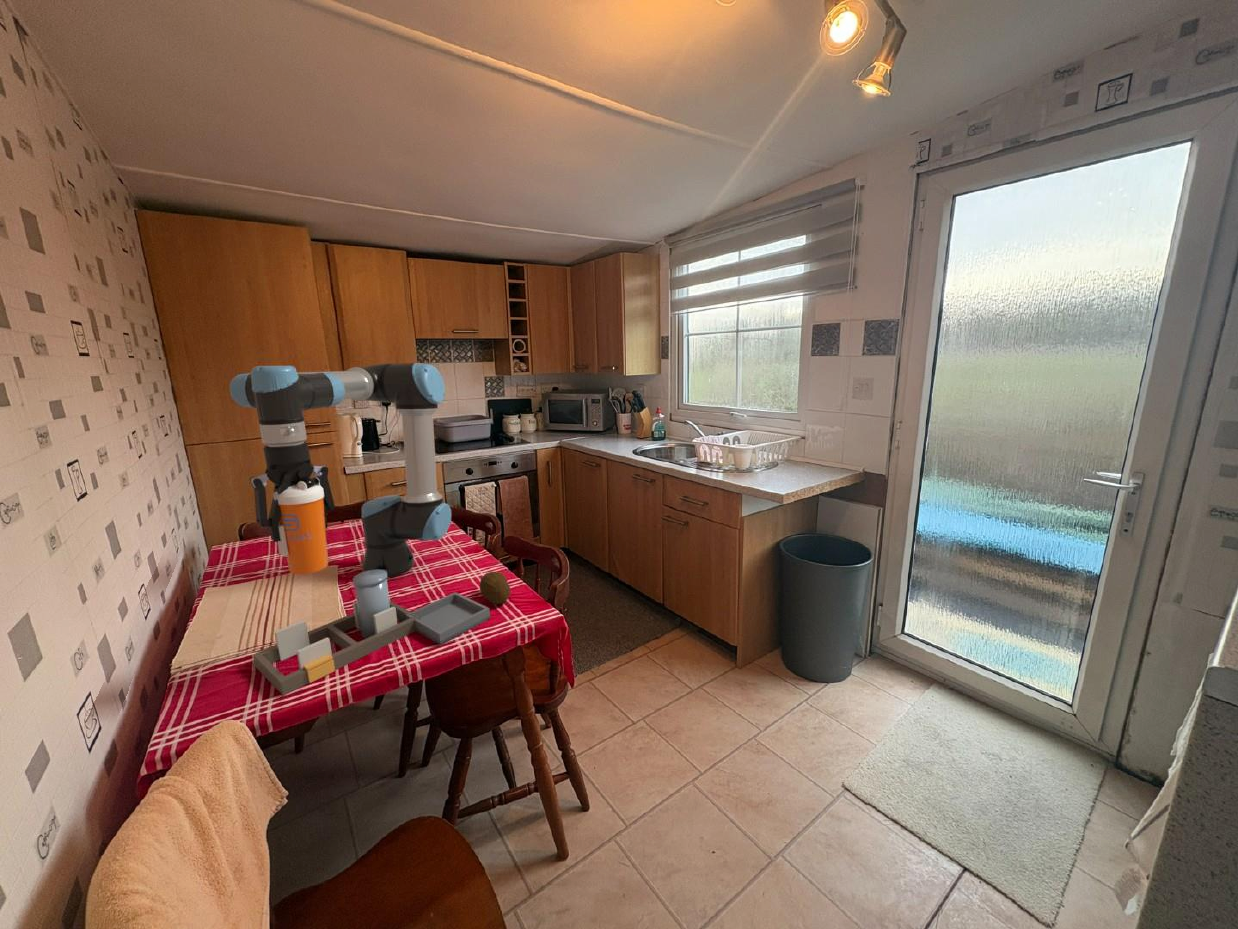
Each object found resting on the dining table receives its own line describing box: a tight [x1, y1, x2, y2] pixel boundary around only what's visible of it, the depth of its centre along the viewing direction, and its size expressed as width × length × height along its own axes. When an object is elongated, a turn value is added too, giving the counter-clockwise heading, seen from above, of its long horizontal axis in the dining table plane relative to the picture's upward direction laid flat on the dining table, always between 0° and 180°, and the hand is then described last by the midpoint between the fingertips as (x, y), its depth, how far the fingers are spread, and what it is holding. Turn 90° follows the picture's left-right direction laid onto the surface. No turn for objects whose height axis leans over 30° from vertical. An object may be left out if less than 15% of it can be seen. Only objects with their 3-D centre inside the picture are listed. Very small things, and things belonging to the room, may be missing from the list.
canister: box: [352, 569, 390, 639], centre depth 118 cm, size 7×7×15 cm
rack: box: [252, 599, 420, 696], centre depth 112 cm, size 16×30×7 cm, turn 144°
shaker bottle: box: [272, 476, 329, 576], centre depth 102 cm, size 9×9×20 cm
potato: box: [479, 571, 511, 605], centre depth 134 cm, size 8×12×8 cm, turn 42°
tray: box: [406, 591, 491, 646], centre depth 123 cm, size 15×15×3 cm
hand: (303, 548), depth 103 cm, fingers open, 6 cm apart
